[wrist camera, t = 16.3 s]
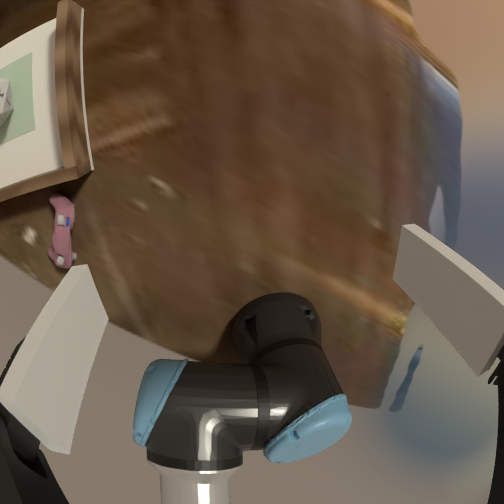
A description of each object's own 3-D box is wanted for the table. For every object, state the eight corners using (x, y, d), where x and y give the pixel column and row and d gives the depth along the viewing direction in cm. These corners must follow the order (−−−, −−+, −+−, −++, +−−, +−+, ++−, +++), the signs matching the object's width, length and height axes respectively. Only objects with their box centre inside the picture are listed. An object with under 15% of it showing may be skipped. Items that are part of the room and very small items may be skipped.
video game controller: (74, 251, 38) (77, 277, 33) (47, 251, 35) (47, 278, 30) (79, 191, 34) (80, 209, 29) (50, 189, 31) (46, 208, 27)
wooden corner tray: (93, 169, 32) (77, 178, 27) (-18, 204, 29) (-36, 216, 25) (83, 9, 21) (68, -3, 16) (-31, 72, 18) (-51, 73, 14)
